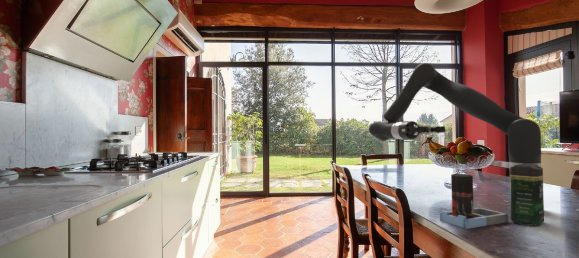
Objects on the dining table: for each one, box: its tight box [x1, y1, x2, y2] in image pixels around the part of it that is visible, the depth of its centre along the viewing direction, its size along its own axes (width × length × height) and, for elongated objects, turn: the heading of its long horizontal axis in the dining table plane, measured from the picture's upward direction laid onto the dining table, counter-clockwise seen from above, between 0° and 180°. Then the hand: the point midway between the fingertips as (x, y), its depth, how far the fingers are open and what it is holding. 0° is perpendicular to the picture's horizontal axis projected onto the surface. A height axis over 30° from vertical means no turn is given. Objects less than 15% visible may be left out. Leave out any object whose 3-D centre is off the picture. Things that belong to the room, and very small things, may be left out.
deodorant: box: [450, 173, 475, 219], centre depth 94 cm, size 6×6×15 cm
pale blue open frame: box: [439, 206, 509, 230], centre depth 96 cm, size 18×10×3 cm, turn 110°
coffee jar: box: [509, 163, 545, 227], centre depth 94 cm, size 10×8×19 cm
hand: (435, 129), depth 110 cm, fingers open, 8 cm apart
